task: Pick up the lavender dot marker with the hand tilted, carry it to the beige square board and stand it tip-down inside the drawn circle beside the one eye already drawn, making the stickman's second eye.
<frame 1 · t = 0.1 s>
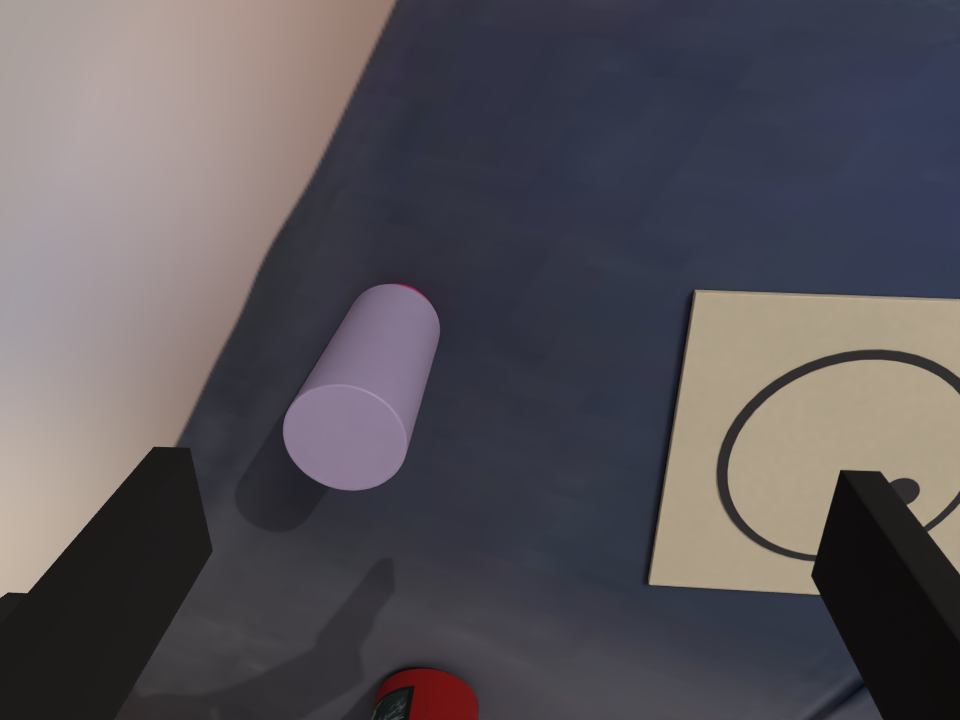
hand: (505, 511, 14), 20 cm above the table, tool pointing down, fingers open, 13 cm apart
beverage can: (429, 691, 46), on the table
dot marker: (398, 317, 34), on the table
beige square board: (844, 459, 36), on the table
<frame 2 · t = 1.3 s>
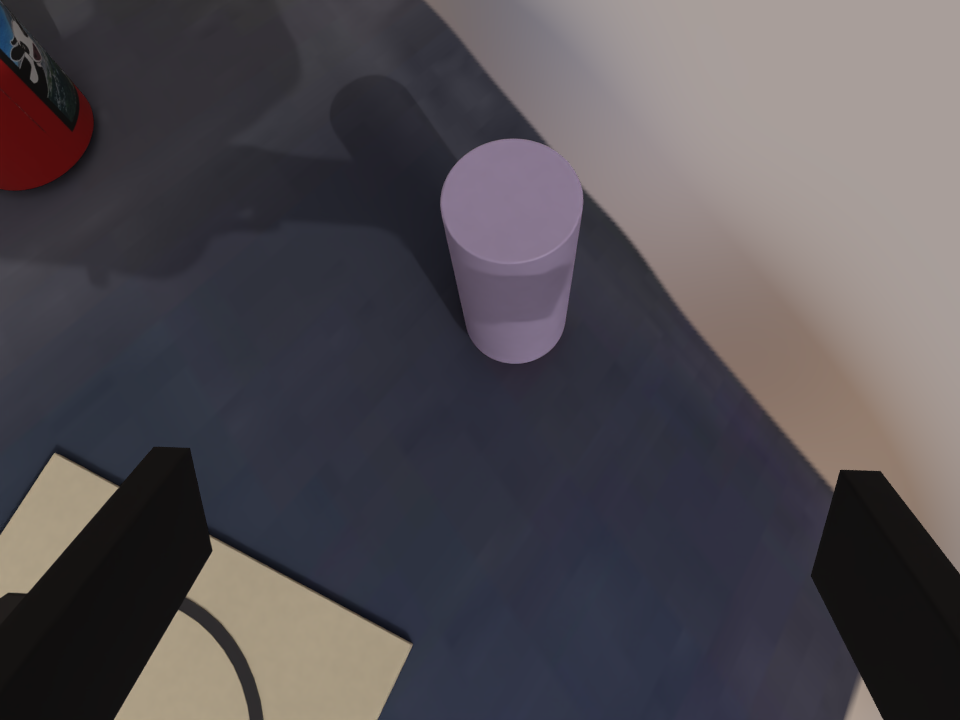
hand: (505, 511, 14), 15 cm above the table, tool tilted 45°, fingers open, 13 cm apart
beverage can: (42, 145, 37), on the table
dot marker: (515, 326, 32), on the table
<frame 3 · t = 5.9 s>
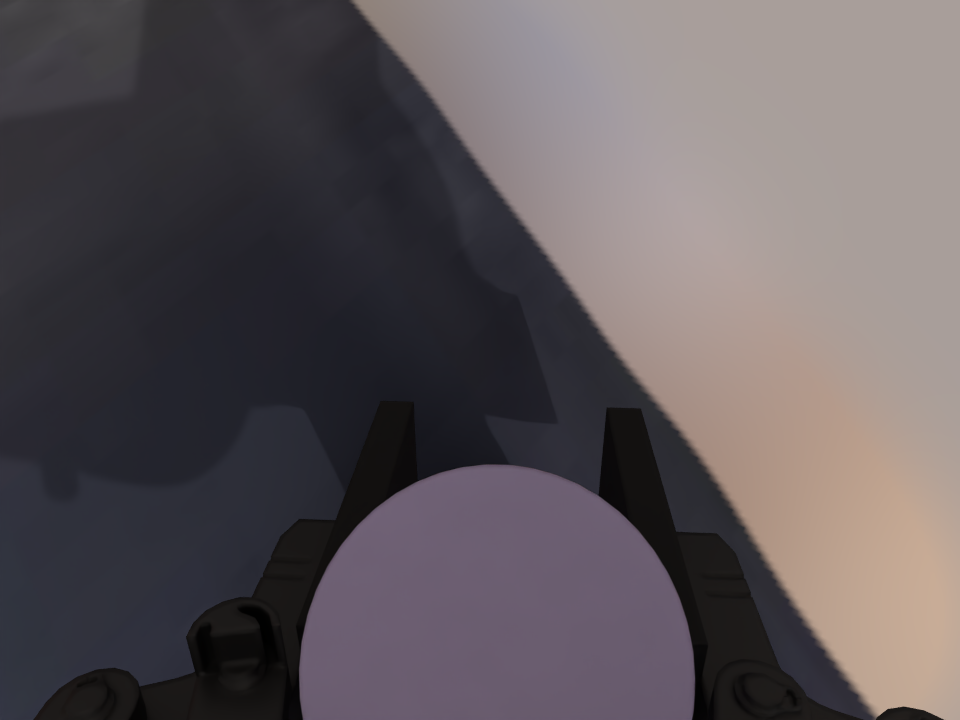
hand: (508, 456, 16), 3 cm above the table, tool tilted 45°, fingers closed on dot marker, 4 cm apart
dot marker: (504, 622, 18), on the table, touching gripper
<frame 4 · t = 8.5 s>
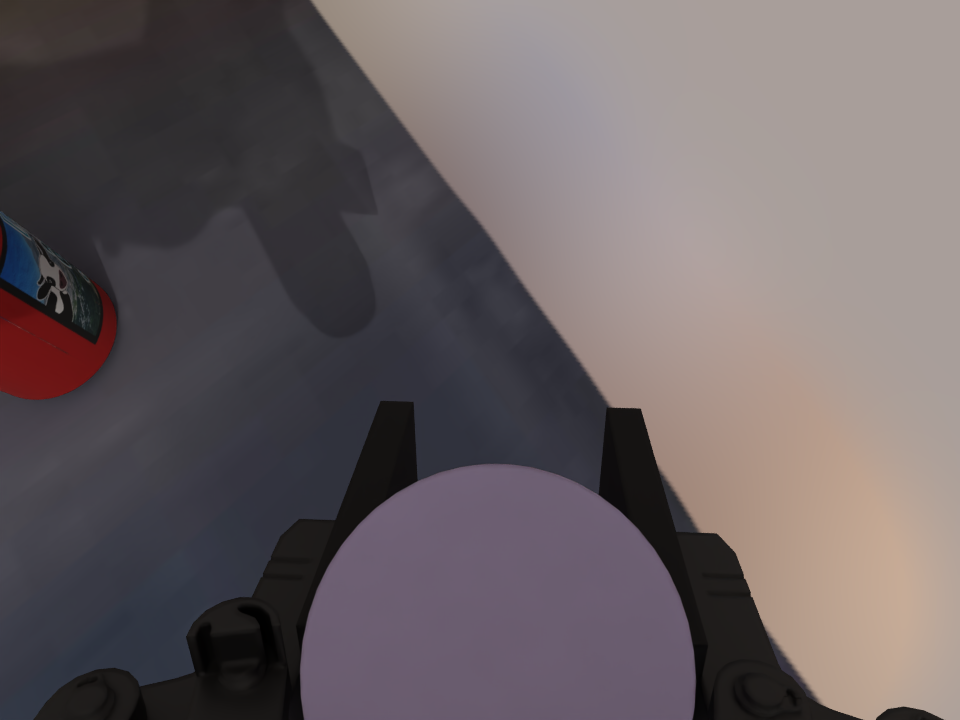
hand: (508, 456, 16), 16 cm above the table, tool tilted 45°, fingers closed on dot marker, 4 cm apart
beverage can: (62, 342, 36), on the table
dot marker: (505, 622, 18), point 13 cm above the table, touching gripper
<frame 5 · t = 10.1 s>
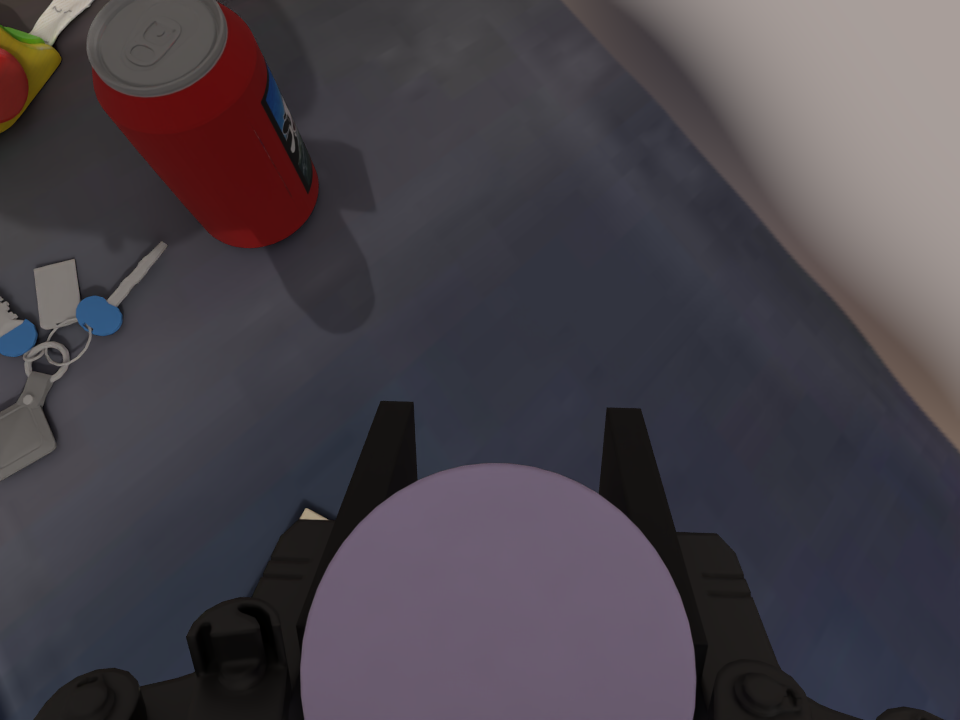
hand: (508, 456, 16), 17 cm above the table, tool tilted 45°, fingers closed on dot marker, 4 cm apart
beverage can: (263, 202, 38), on the table
dot marker: (505, 622, 18), point 13 cm above the table, touching gripper
toy measuring tape: (33, 63, 42), on the table
key chain: (42, 341, 36), on the table
when the fingers open (4 cm above the table, at t = 14.8 s): dot marker stays where it is, resting on beige square board.
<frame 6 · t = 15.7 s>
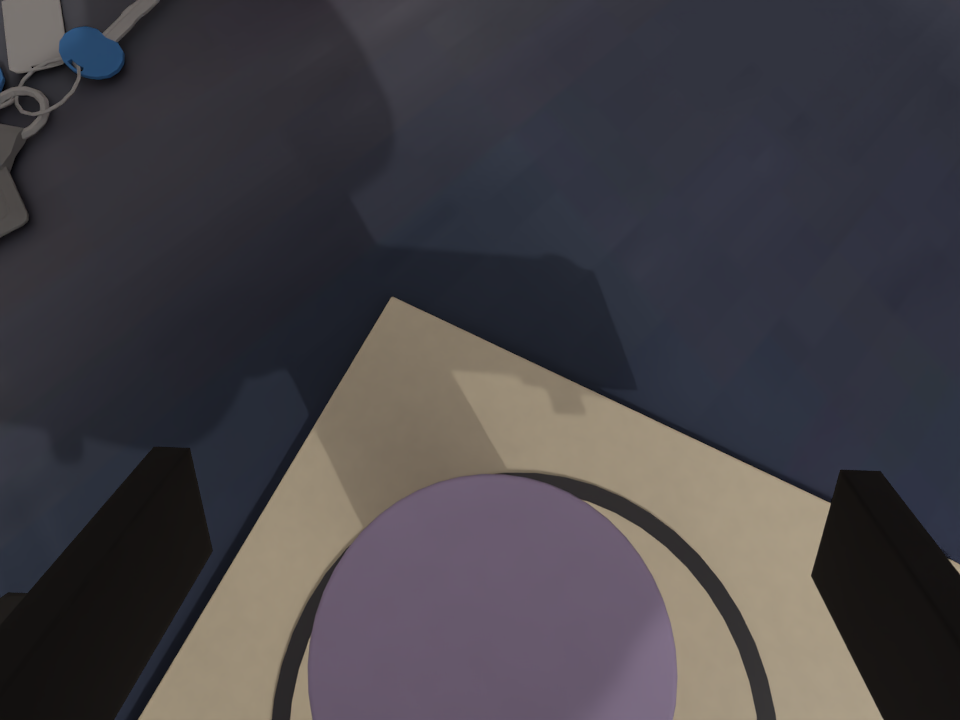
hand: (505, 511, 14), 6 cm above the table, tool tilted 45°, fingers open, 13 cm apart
dot marker: (501, 623, 19), point 1 cm above the table, touching beige square board
key chain: (12, 93, 26), on the table
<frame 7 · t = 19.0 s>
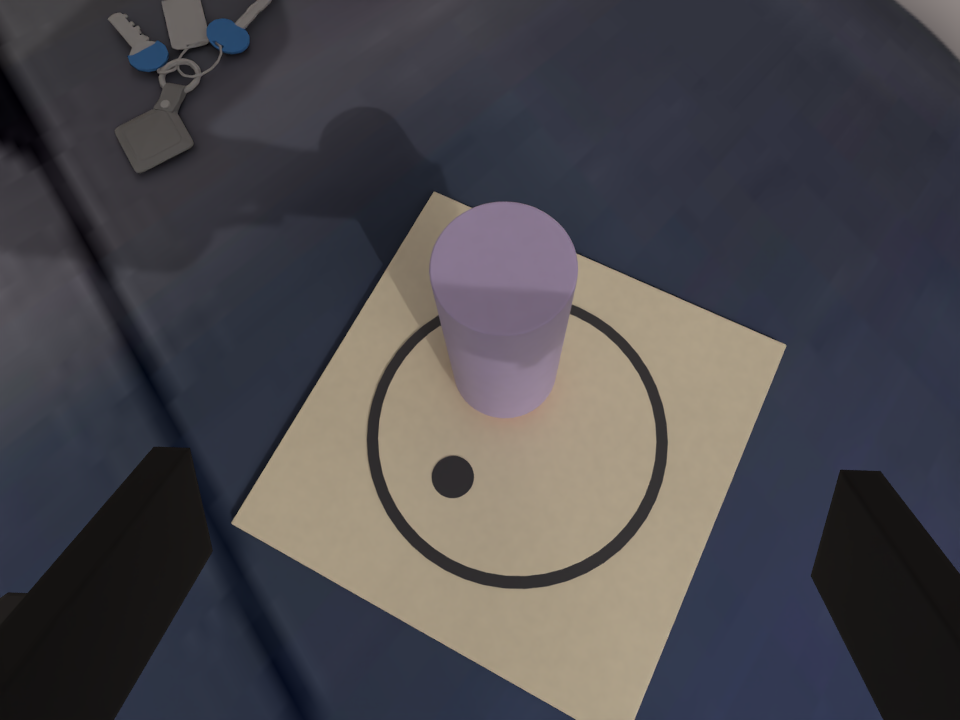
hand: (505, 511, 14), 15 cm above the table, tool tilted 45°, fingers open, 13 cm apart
dot marker: (504, 376, 31), point 1 cm above the table, touching beige square board
beige square board: (515, 433, 31), on the table
key chain: (172, 63, 38), on the table
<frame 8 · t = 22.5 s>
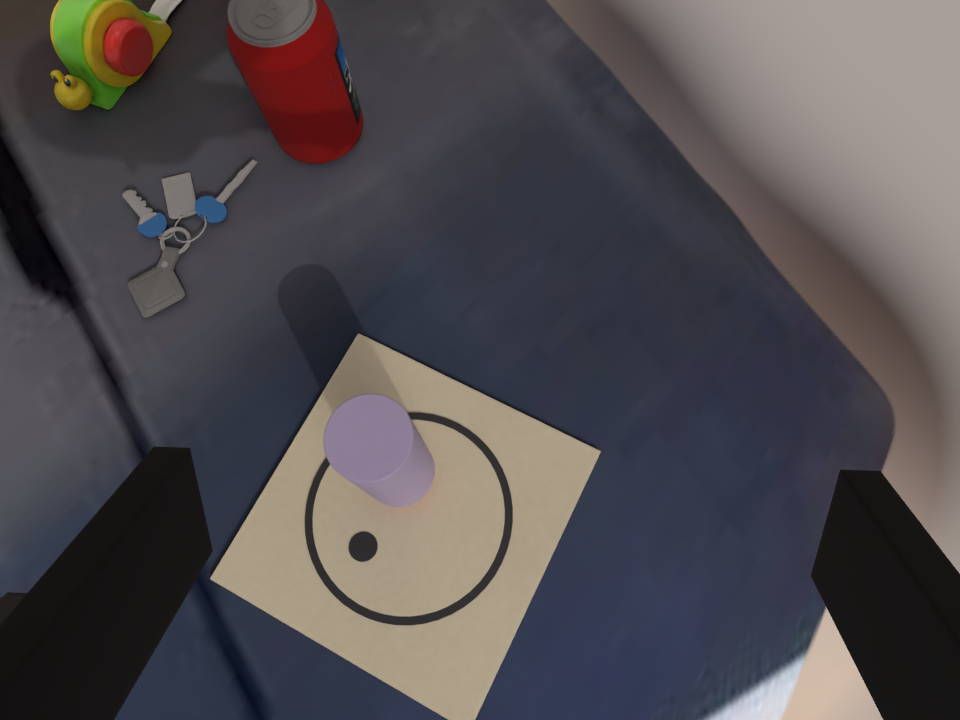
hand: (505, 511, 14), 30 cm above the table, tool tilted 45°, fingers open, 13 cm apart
beverage can: (322, 133, 53), on the table
dot marker: (402, 474, 44), point 1 cm above the table, touching beige square board
beige square board: (409, 514, 44), on the table
toy measuring tape: (150, 35, 57), on the table
key chain: (169, 228, 51), on the table
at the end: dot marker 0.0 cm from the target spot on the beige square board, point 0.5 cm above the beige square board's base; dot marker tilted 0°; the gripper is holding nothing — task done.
